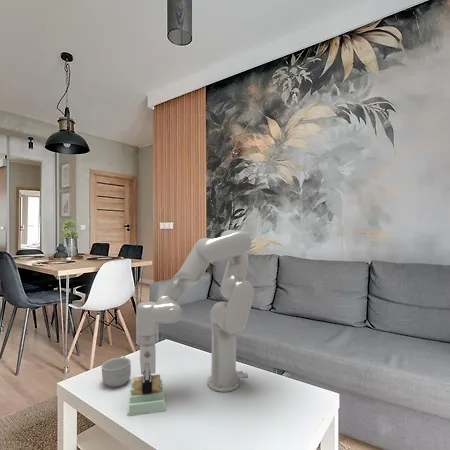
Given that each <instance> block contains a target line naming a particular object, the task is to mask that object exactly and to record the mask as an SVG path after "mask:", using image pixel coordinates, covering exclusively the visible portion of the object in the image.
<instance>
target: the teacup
mask: <svg viewBox="0 0 450 450" xmlns="http://www.w3.org/2000/svg"><path fill="white" fill-rule="evenodd" d="M131 362H132V360H131V359H130V358H128V357H126V356H125V355H121V356H120V357H114V358H111V359H107V360H106V361H104V362H103V363H101V367H100V368H101V378H102V382H103V383H104V384H105V385H106V386H108V387H110V388H119V387H122V386H123V385H125V384H126V383H127V381H128V380H129V379H130V377H131V371H132V369H131V368H132V366H131Z"/></svg>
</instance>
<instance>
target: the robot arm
mask: <svg viewBox="0 0 450 450" xmlns="http://www.w3.org/2000/svg"><path fill="white" fill-rule="evenodd" d="M251 246H252V237H251V236H250V234H249V233H248V232H246V231H244V230H237V229H227V230H225V231H223V232H222V233H221V234H220V236H219V237H215V238H208V237H202V238H200V239H198V240H197V241H196V242H195V244H194V245H193V247H192V248H191V251H190V253H189V254H188V255H187V257H186V259H185V261H184V262H183V264H182V265H181V267H180V269H179V270H178V271H177V272H176V273H175V274H174V276H173V277H172V278H171V279H170V280H169V281H168V283H167V284H166V285H165V286H164V288H163V290H162V292H161V293H160V295H159V296H158V297H157V301H156V302H155V301H142V302H139V303H138V304H137V306H136V324H135V325H136V328H135V329H136V330H135V331H136V335H135V336H136V338H135V339H136V341H135V342H136V345H137V346H139V362H140V364H139V365H140V367H139V368H140V374H141V376H143V382H142V393H143V394H146V393H151V392H152V381H151V375H156V367H157V366H156V365H157V364H156V361H157V360H156V359H157V358H156V357H157V356H156V355H157V354H156V351H157V349H156V345H157V344H158V343H159V324H167V325H169V324H170V325H171V324H175V323H177V322H178V321H180V320H181V318H182V315H183V311H182V308H181V305H179V304H178V302H179V300H180V299H181V296H182V295H183V294H184V293H185V292H186V291H187V290H188V289H190V288H191V287H193V286H195V285H197V284H199V282H200V281H201V280H202V279H203V278H202V277H203V276H204V274H205V272H206V270H207V269H208V268H209V266H210V264H211V263H218V262H222V261H225V260H226V266H225V270H224V273H223V277H222V281H221V283H220V288H219V289H220V290H219V291H220V294H221V295H222V297H224V298H225V299H227V301H218V302H216V303H215V304H214V305H213V306H212V307H211V309H210V312H209V313H210V318H209V319H210V320H209V321H210V327H211V369H210V370H211V371H210V372H211V373H210V374H211V375H210V376H209V377H208V378H207V386H208V387H209V388H210V390H212V391H216V392H220V393H222V392H223V393H225V392H228V393H229V392H232V391H234V390H237V389H238V388H239V387H240V383H241V382H240V381H241V379H248V378H249V377H248V376H249V375H248V374H249V373H248V372H243V370H239V371H237V368H236V367H237V335H239V334H241V333H242V332H243V331H244V330H245V328H246V326H247V323H248V320H249V316H250V313H251V309H252V305H253V301H254V297H255V296H254V291H255V290H254V287H253V285H252V284H251V282H250V281H248V280H247V279H246V277H247V273H248V269H249V255H248V251H249V249H251Z"/></svg>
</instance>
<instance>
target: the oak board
mask: <svg viewBox="0 0 450 450" xmlns="http://www.w3.org/2000/svg"><path fill="white" fill-rule="evenodd" d="M160 379H161V374H151V381H152V392H151V393H159V392H160ZM133 382H134V395H142V394H143V393H142V382H143V375H141V376H134V377H133ZM151 393H146V394H151Z"/></svg>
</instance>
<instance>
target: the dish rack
mask: <svg viewBox="0 0 450 450" xmlns="http://www.w3.org/2000/svg"><path fill="white" fill-rule="evenodd" d="M128 395H129V397H128V404H127V406H128V407H127V416H128V417H129V415H130V416H136V415H143V414H152V413H153V414H154V413H160V412H166V400H165V389H164V384H163V379H162V378H160V392H159V393H151V394H142V395H134V381H131V387H130V388H129V394H128Z"/></svg>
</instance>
